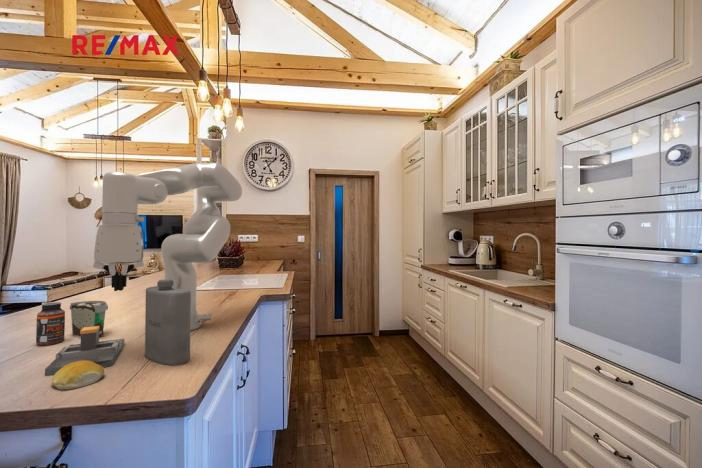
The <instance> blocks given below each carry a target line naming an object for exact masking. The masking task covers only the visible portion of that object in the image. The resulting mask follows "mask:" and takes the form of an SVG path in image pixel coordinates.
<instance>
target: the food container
mask: <svg viewBox="0 0 702 468" xmlns="http://www.w3.org/2000/svg"><path fill="white" fill-rule="evenodd" d="M69 310H70V314H71V315H70V316H71V332H72V334H71V335H73V337H77V336H78V337H77V338H81V334H80V331H81V330H82V329H83V328H84V327H93V326H100V329H99V338H101V337H102V336H103V335H104V328H105V317H106V311H107V310H109V305H108V303H107V302H106V301H104V300H84V301H76V302H71V303H70V305H69Z"/></svg>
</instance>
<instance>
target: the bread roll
mask: <svg viewBox="0 0 702 468" xmlns="http://www.w3.org/2000/svg"><path fill="white" fill-rule="evenodd" d="M104 374H105V367H102V366H100V365H98V364H96V363H94V362H92V361H89V360H83V361H76V362H73V363H70V364H68V365H66V366H64V367H62V368H61V369H60V370H59V371H57V372H56V373H55V374H54V375H53V376H52V378H51V385H52V387H54V388H56V389H58V390H64V391H65V390H74V389H78V388H83V387H85V386H89V385H92V384H95V383H97V382H99V381H100V379H101V378H102V377H103V376H104Z"/></svg>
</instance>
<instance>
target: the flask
mask: <svg viewBox="0 0 702 468" xmlns="http://www.w3.org/2000/svg"><path fill="white" fill-rule="evenodd" d="M156 283H157V284H156V285H155V286H149V287H146V289H145V317H144V319H145V326H144V327H145V328H144V332H145V333H144V336H145V337H144V347H145V348H144V356H145V357H146V358H147V359H148V360H151V361H152V362H155V363H158V364H162V365H168V366H180V365H183V364H186V363H188V362H189V361H190V359H191V331H190V309H191V291H190V290H185V289H175V288H172V286H173V280H172V279H165V278H164V279H163V278H162V279H159V280H157V282H156Z"/></svg>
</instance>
